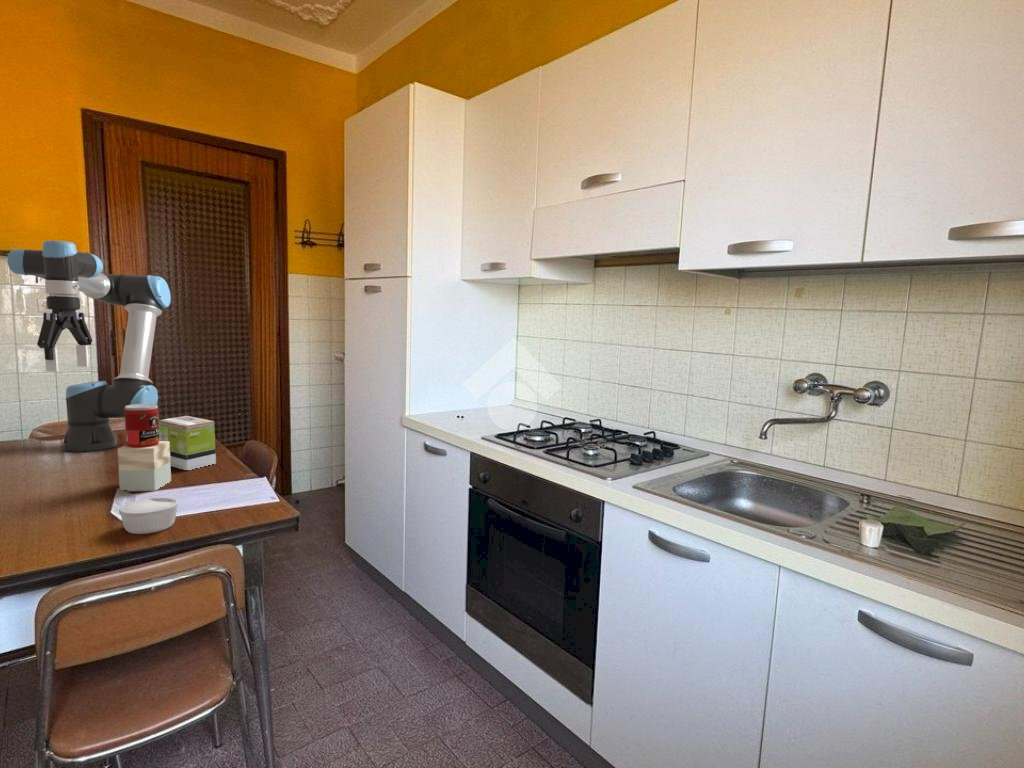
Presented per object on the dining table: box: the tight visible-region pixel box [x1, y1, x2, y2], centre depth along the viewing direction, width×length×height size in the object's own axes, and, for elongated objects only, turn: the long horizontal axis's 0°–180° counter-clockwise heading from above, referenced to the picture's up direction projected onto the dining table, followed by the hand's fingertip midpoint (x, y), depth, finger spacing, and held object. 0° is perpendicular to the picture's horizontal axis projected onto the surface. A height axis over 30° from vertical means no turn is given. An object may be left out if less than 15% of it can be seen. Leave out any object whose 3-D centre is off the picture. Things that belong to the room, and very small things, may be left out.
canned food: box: [124, 404, 160, 448], centre depth 153 cm, size 8×8×11 cm
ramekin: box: [118, 497, 179, 535], centre depth 126 cm, size 11×11×5 cm
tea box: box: [159, 415, 217, 471], centre depth 177 cm, size 15×10×15 cm
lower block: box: [118, 462, 172, 492], centre depth 155 cm, size 9×9×6 cm
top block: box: [117, 441, 170, 471], centre depth 154 cm, size 9×9×6 cm
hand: (68, 369), depth 162 cm, fingers open, 13 cm apart
